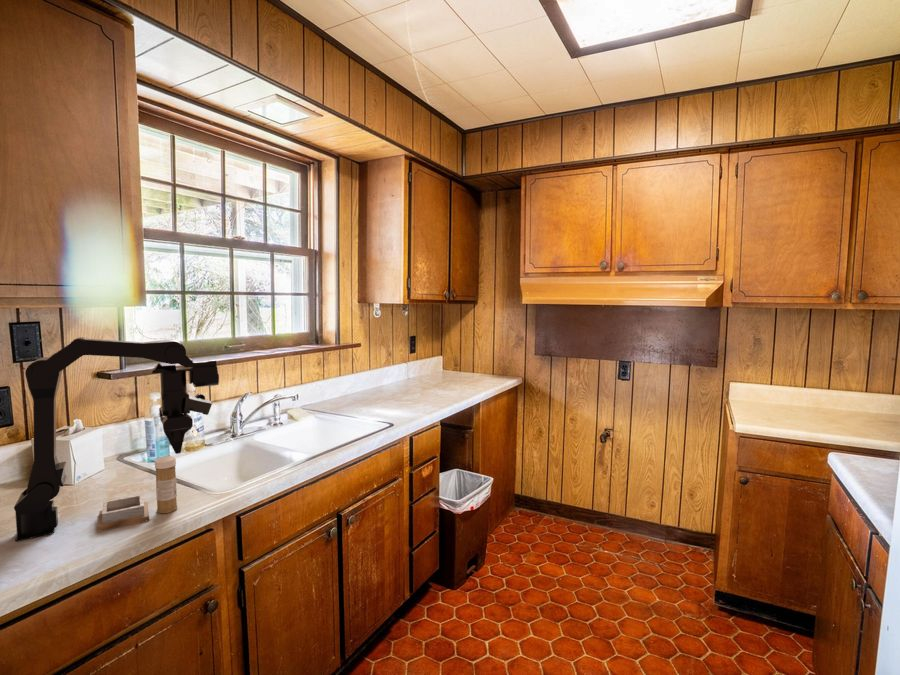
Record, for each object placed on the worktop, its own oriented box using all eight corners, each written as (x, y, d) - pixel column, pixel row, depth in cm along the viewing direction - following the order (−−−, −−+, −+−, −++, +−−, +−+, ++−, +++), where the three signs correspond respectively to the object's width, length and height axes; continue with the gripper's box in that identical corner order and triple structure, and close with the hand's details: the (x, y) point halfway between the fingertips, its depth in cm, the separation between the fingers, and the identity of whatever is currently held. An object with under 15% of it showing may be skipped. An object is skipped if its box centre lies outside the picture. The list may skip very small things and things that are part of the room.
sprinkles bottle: (162, 506, 122) (160, 455, 121) (180, 505, 123) (179, 455, 122) (153, 514, 118) (150, 461, 117) (172, 513, 118) (170, 461, 117)
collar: (102, 524, 110) (102, 514, 110) (103, 511, 117) (103, 501, 117) (144, 515, 115) (144, 505, 115) (143, 503, 121) (143, 494, 121)
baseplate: (97, 531, 109) (97, 527, 109) (99, 514, 117) (99, 510, 117) (149, 520, 115) (149, 516, 114) (147, 505, 123) (147, 501, 123)
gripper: (214, 391, 118) (216, 452, 120) (204, 380, 134) (206, 434, 135) (162, 396, 112) (165, 461, 113) (157, 384, 128) (160, 441, 129)
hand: (176, 448), depth 123 cm, fingers open, 9 cm apart
